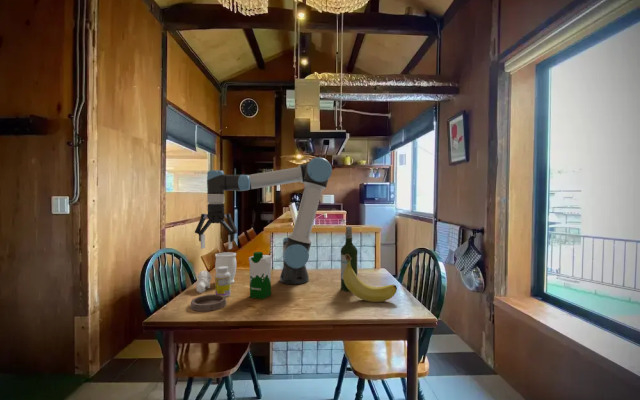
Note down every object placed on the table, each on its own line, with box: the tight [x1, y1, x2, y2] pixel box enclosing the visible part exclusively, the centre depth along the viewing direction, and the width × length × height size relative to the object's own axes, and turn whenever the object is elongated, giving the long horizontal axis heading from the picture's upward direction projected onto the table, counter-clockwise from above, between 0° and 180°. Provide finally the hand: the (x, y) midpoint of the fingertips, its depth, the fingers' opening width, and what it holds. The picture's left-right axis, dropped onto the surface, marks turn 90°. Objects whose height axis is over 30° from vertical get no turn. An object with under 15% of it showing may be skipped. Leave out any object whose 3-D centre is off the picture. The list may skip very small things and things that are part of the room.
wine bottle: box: [340, 226, 358, 293], centre depth 154 cm, size 8×8×30 cm
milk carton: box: [248, 251, 273, 300], centre depth 145 cm, size 9×9×20 cm
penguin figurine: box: [195, 270, 212, 294], centre depth 154 cm, size 6×8×12 cm
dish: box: [190, 294, 227, 312], centre depth 133 cm, size 14×14×2 cm
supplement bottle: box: [214, 266, 232, 298], centre depth 146 cm, size 7×7×13 cm
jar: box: [214, 251, 237, 284], centre depth 168 cm, size 11×10×15 cm
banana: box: [343, 254, 398, 303], centre depth 137 cm, size 23×6×20 cm, turn 82°
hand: (216, 248), depth 152 cm, fingers open, 13 cm apart
